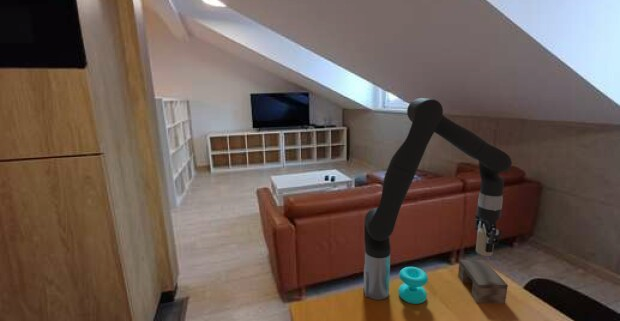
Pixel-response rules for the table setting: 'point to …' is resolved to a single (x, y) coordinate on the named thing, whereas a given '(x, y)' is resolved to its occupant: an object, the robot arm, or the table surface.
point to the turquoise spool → (413, 285)
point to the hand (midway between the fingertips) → (484, 247)
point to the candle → (482, 243)
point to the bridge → (483, 281)
